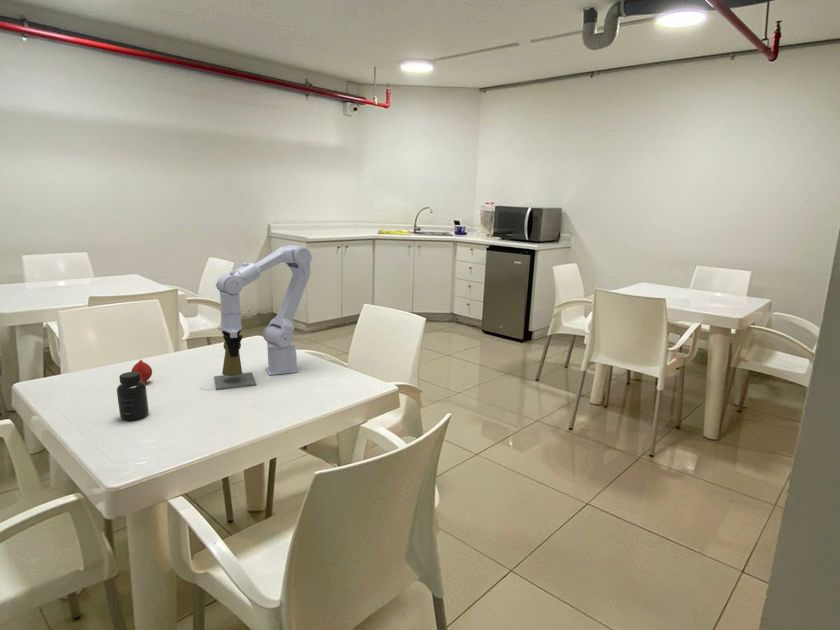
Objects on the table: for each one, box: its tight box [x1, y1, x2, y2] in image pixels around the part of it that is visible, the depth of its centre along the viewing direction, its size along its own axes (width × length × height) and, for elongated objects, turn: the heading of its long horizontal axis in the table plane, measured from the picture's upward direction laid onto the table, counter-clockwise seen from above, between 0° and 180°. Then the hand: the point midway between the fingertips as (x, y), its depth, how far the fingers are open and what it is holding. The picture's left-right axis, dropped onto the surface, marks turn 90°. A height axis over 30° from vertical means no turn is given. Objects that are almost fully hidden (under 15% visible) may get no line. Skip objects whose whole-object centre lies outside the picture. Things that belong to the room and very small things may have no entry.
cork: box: [221, 340, 243, 376], centre depth 163 cm, size 6×6×11 cm
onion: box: [130, 359, 153, 384], centre depth 160 cm, size 6×6×8 cm
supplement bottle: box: [116, 371, 150, 422], centre depth 136 cm, size 7×7×12 cm
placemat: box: [213, 371, 257, 391], centre depth 165 cm, size 12×12×1 cm
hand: (233, 354), depth 163 cm, fingers closed on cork, 5 cm apart
